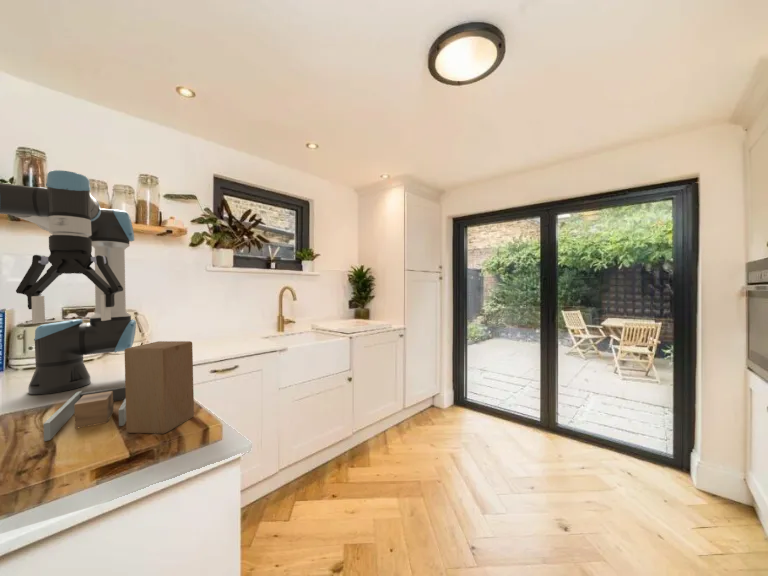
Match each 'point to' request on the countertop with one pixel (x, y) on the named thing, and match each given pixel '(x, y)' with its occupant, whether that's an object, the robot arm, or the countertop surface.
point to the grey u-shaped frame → (68, 410)
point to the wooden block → (158, 386)
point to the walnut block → (93, 409)
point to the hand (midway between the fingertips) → (73, 321)
